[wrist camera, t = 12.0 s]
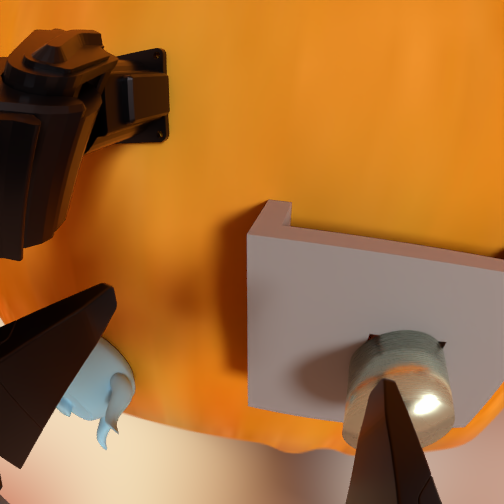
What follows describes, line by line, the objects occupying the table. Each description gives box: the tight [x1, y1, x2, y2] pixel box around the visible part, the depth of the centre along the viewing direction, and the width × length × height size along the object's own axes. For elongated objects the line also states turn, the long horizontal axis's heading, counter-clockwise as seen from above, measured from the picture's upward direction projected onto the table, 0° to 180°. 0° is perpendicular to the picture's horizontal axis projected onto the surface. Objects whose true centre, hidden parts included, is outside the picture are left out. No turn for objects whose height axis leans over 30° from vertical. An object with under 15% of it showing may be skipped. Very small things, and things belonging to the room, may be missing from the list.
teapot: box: [56, 337, 135, 450], centre depth 33 cm, size 15×15×10 cm
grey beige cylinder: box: [342, 330, 455, 448], centre depth 17 cm, size 6×6×9 cm
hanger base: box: [247, 200, 504, 428], centre depth 20 cm, size 20×16×5 cm
